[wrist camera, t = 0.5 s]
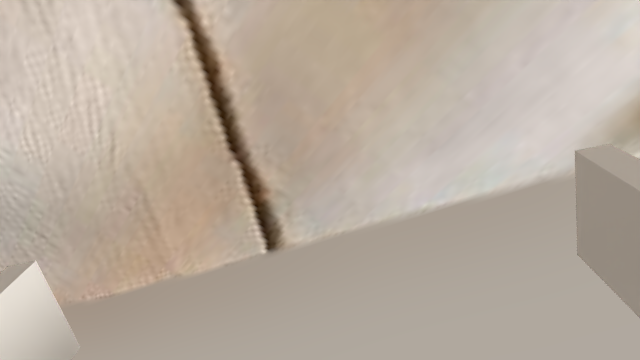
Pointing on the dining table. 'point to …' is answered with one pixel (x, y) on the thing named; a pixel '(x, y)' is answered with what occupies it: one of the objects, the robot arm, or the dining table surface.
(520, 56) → the dining table surface
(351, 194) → the dining table surface
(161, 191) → the dining table surface
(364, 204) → the dining table surface
